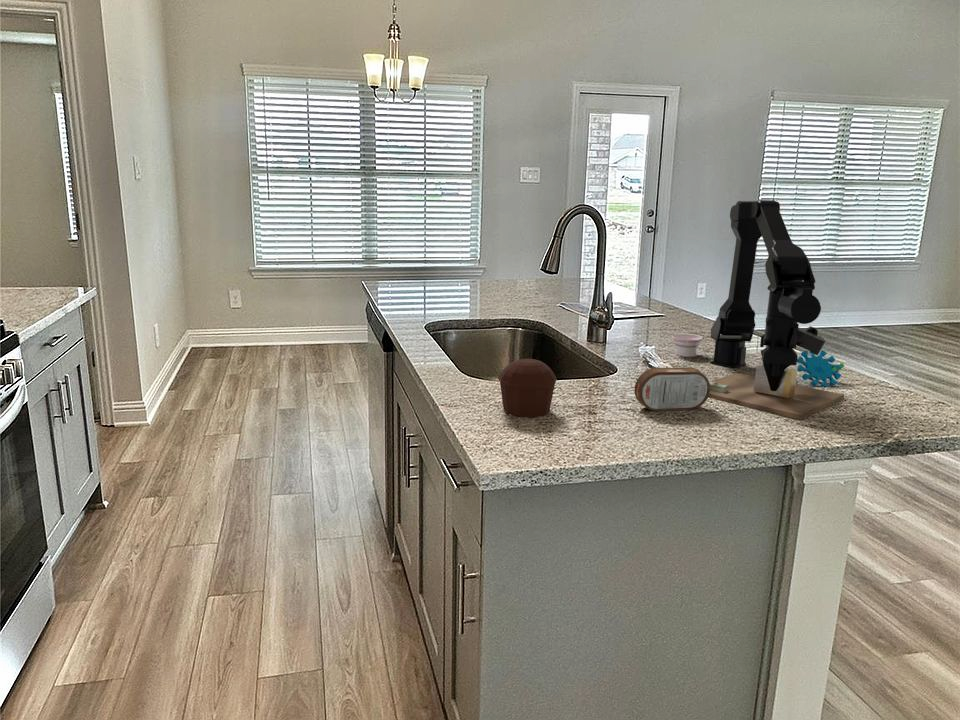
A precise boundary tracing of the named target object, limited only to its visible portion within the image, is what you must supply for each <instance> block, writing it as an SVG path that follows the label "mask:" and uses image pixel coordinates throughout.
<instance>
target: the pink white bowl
mask: <svg viewBox="0 0 960 720" xmlns="http://www.w3.org/2000/svg"><path fill="white" fill-rule="evenodd" d="M671 339H672V340H673V342H674V343H673V344H674V345H675V349H674V350H675V351H674V355H676V356H679V357H683V358H694V357H697V354H698V353H697V351H698V347H699V346H700V344H701V343H702V341H703V336H701V335H698V334H694V333H686V332H685V333H674V334H671Z"/></svg>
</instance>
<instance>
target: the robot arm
mask: <svg viewBox="0 0 960 720" xmlns="http://www.w3.org/2000/svg"><path fill="white" fill-rule="evenodd" d="M729 219H730V227H731V230H732V233H733V234H734V237H735V246H734V252H733V253H734V254H733V259H732V268H731V276H730V285H729V290H728V298H727V299H726V300H725V302H723V304H722V305H721V306H720V308H719V311H718V316H717V317H716V318H715V321H714V323H713V325H712V326H711V328H710V338H711V339H712V340H713V341H715V343H714V354H713V360H710V361H709V362H710V363H709V364H713V365H717V366H721V367H728V368H732V369H733V368H734V369H735V368H738V367H741V366H744V365H743V364H745V365H746V364H747V363H746V355H747V347H746V342H749V343H751V342H752V339H753V335H754V332H755V328H756V322H755V321H756V320H755V319H756V313H755V310H753V308H752V306H751V304H750V295H751V288H752V282H753V275H754V268H755V264H756V263H755V261H756V254H757V248H758V242H759V240H760V238H761V239H762V240H763V242H764V245H765V248H766V251H767V255H768V257H767V259H766V262H765V264H764V266H765V273H766V278H767V280H768V282H769V285H768V287H767V290H768V291H769V293H768V303H767V311H766V317H765V326H764V327H765V330H764V334H763V335H761V337H760V341H759V342H760V344H759V346H760V348H763V349H760V354H761V361H762V364H763V365H764V369H765V372H766V376H767V379H768V383H769V386H770V390H771V391H777V388H778V385H779V383H780V380H781V378H782V375H783V373H784V370H785V369H786V368H789V367H790V366H797V364H798V362H797V359H798V358H799V357H798V353H797V351H795V349H797V347H800V348H802V349H804V350H805V351H808V352H809V351H811V353H813V354H814V355H815V356H819V353H820V352H821V351H822V350H823V349H822V348H823V347H824V346H825V343H826V340H825V338H824V337H822V335H819V333H818V332H819V331H818V329H817V328H816V327H813V326H812V325H810V326H808V327H807V328H801V327H799V326H800V325H799V324H802V325H806V324H810V323H812V322H814V321H816V319H817V318H819V316H820V314H821V311H822V307H821V303H820V300H819V299H818V297H816V296H815V295H813V293H814V290H815V288H816V286H815V283H816V278H815V275H814V273H813V269H812V267H811V262H810V260H809V258H808V256H807V255H806V253H805V251H804V250H803V248H801V247H800V246H798V245H796V244H795V243H793V240H792V239H791V236H790V233H789V232H788V231H789V230H788V228H787V227H786V224H785V222H784V221H785V220H784V219H783V216H782V214H781V205H780V203H779V201H777V200H773V199H771V200H770V199H769V200H768V199H758V200H756V201H755V200H754V201H753V200H738V201H737V202H736V203H735V204H734V205H732V206H731V208H730V213H729ZM764 346H765V348H764Z"/></svg>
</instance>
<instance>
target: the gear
mask: <svg viewBox="0 0 960 720" xmlns="http://www.w3.org/2000/svg"><path fill="white" fill-rule="evenodd" d="M808 354H809V355H810V356H809V355H808ZM800 355H801V356H799V357H798V358H797V364H798V366H797V368H796V369H797V372H798V373H799V372H805V373H803V374H802V375H801V378H802V379H803V381H807V380H809V379H808V378H811V379H812V378H814V379H813V380H811V382H810V385H811V386H813V385H814V386H813V387H817V385H818V384H819V381H822V383H820V386H821V387H822V386H826V387H825V388H828V387H829V386H831V385H834V386H835V385H837V383H838V380H839V379H840V378H841V377H842V374H841V373H839V371H841V370H842V369H843V368H844V367H845V364H844V363H839V364H832V363H834V362H835V361H836V358H835V357H834V356H832V355H831V356H830V357H828V358H823V357H825V356H826V355H827V352H826V351H825V350H823V349H821V350H820V352H819V354H818V355H816V354H813V353H811V351H809V350H803V351H802V352H800ZM828 380H829V384H828Z"/></svg>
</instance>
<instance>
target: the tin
mask: <svg viewBox="0 0 960 720" xmlns="http://www.w3.org/2000/svg"><path fill="white" fill-rule="evenodd" d="M633 392H634V396H635V399H636V400H637V402H639V403H638V404H641V405H642V406H643V407H644V408H646V409H648V410H650V411H655V412H659V411H660V412H661V411H662V412H663V411H664V412H665V411H690V410H691V411H693V410H696V409H698V408H700V407H701V406H702V405H704V404H705V402H707V400H708V398H709V397H708V396H709V392H710V383H709V379H708V377H707V376H706V375H705V374H704V373H702V371H700V370H699V369H697V368H694V367H652V368H650V369H649V368H648V369H646V370H645V371H644V372H642V373H641V374H640V375H639V377H638V378H637V379H636V382H635V384H634V391H633Z"/></svg>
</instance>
